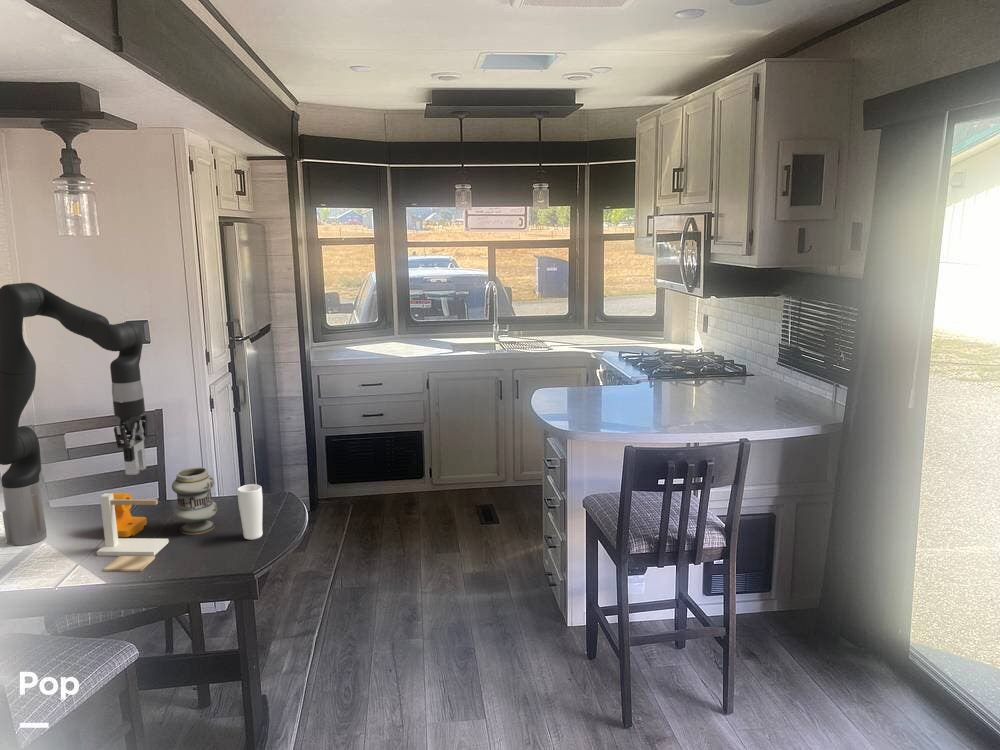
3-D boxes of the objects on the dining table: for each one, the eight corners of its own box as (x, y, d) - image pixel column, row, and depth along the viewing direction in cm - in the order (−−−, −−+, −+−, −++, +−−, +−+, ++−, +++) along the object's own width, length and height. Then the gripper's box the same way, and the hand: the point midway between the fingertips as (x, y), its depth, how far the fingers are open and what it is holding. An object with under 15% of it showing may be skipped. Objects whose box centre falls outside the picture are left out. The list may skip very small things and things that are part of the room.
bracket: (128, 539, 224) (124, 500, 222) (104, 539, 225) (100, 500, 222) (148, 525, 235) (144, 487, 232) (125, 524, 235) (121, 487, 233)
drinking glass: (255, 542, 221) (252, 493, 218) (236, 539, 223) (232, 490, 220) (270, 533, 228) (266, 485, 225) (250, 530, 230) (247, 482, 227)
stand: (97, 555, 213) (90, 500, 210) (113, 542, 222) (108, 489, 219) (154, 555, 213) (148, 501, 210) (168, 542, 222) (163, 489, 219)
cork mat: (103, 571, 204) (103, 569, 204) (119, 558, 212) (118, 556, 212) (140, 571, 204) (140, 569, 204) (155, 558, 212) (154, 556, 211)
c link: (125, 474, 208) (122, 446, 207) (135, 467, 214) (132, 440, 212) (136, 474, 208) (133, 446, 207) (146, 467, 214) (143, 440, 212)
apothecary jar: (170, 527, 233) (164, 470, 229) (209, 517, 240) (204, 462, 237) (184, 539, 224) (179, 480, 220) (225, 528, 231) (220, 471, 228)
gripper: (127, 391, 214) (133, 450, 217) (100, 403, 200) (107, 466, 203) (154, 391, 214) (160, 449, 217) (129, 403, 200) (135, 466, 203)
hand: (134, 457), depth 210 cm, fingers closed on c link, 5 cm apart
